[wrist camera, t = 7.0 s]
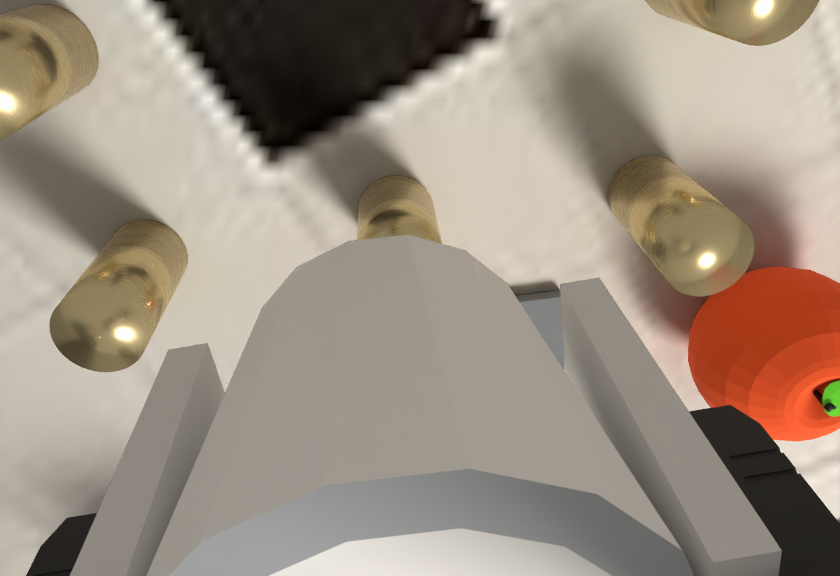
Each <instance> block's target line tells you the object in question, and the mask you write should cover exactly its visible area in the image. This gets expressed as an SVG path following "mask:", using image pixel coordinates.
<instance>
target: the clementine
mask: <svg viewBox="0 0 840 576" xmlns="http://www.w3.org/2000/svg"><path fill="white" fill-rule="evenodd" d="M688 362H689V366H690V370H691V374H692V377H693V379H694V382H695V384H696V386H697V388H698V391H699V392H700V394H701V395H702V396H703V398H704V399H705V401H706V402H707V404H708V405H709V406H710V407H711V408H714V407H720V406H726V405H732V406H733V407H735V408H736V409H738V410H739V411H741V412H743V413H744V414H746V415H747V416H749V417H751V418H752V419H754V420H755V421H757V422H758V423H760V424H761V425H762V427H763V428H764V429H765V430H766V432H767V433H768V434H769V435H770V437H771V438H772V439H773V440H785V441H803V440H810V439H815V438H818V437H821V436H824V435H827V434H830V433H832V432H834V431H836V430H838V429H839V428H840V283H838V282H836V281H834V280H832V279H830V278H828V277H826V276H824V275H821V274H819V273H816V272H814V271H811V270H805V269H796V268H787V267H777V266H776V267H769V268H761V269H756V270H753V271H751V272H748V273H745V274H743V276H742V277H741V278H740V279H739V280H738V281H737V282H735V283H734V284H733V285H731V286H730V287H728V288H727V289H725V290H723V291H721V292H718V293H716V294H712V295H711V296H710V297H709V298H708V299H707V300H706V301H705V303H704V304H703V306H702V307H701V309H700V310H699V312H698V313H697V314H696V316H695V319H694V321H693V324H692V327H691V329H690V332H689V346H688Z"/></svg>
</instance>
